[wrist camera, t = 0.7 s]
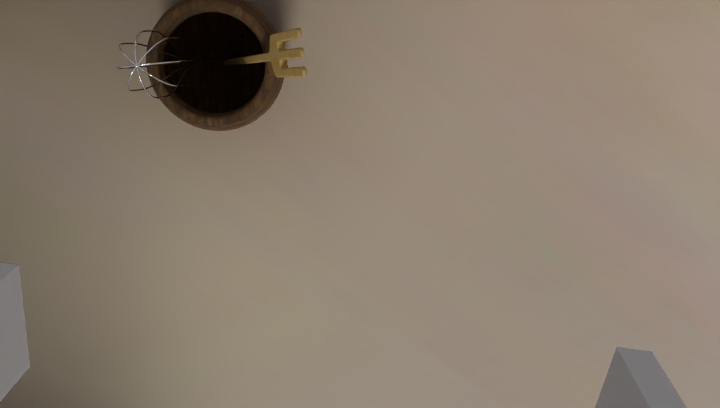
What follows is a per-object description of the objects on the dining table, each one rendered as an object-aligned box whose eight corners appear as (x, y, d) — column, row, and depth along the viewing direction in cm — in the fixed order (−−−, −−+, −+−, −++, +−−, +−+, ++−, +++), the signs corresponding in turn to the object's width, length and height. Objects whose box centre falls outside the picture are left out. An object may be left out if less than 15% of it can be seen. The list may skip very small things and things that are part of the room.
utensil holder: (150, 8, 30) (79, -27, 18) (280, -5, 30) (291, -47, 19) (172, 129, 31) (119, 168, 19) (295, 114, 32) (315, 143, 20)
